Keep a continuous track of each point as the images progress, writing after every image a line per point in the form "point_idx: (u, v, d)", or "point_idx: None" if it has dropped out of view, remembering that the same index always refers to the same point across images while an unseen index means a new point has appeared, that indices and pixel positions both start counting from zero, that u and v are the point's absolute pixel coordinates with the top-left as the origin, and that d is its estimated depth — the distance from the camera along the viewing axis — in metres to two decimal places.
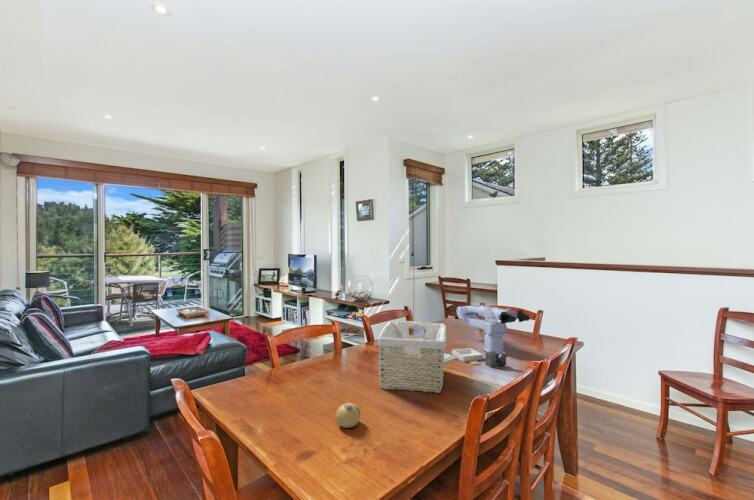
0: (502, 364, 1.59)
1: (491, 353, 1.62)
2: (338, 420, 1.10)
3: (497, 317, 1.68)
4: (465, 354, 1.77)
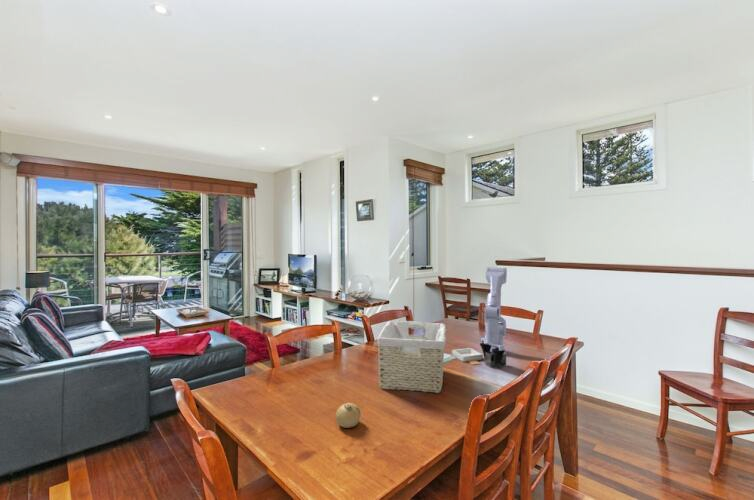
0: (502, 364, 1.59)
1: (491, 353, 1.62)
2: (338, 420, 1.10)
3: None
4: (465, 354, 1.77)
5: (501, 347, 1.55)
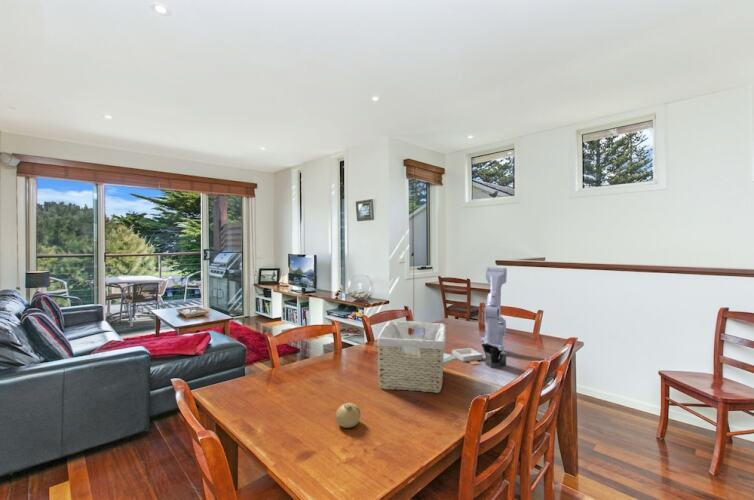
0: (502, 364, 1.59)
1: None
2: (338, 420, 1.10)
3: None
4: (465, 354, 1.77)
5: (501, 347, 1.55)
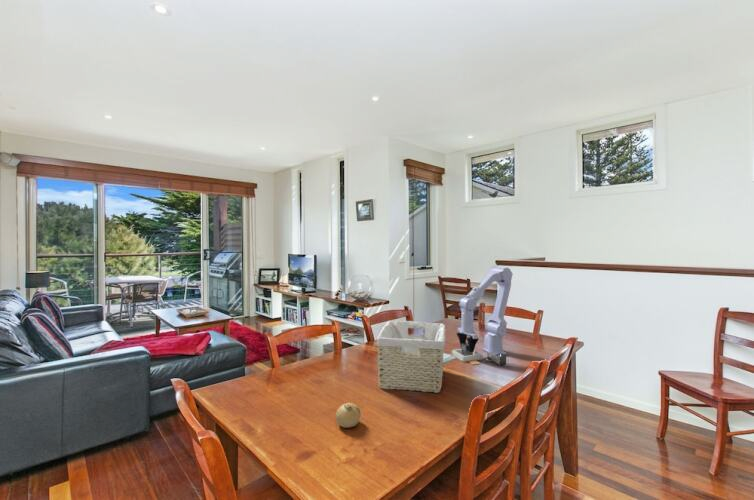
0: (502, 364, 1.59)
1: (466, 344, 1.73)
2: (338, 420, 1.10)
3: None
4: None
5: (475, 336, 1.67)
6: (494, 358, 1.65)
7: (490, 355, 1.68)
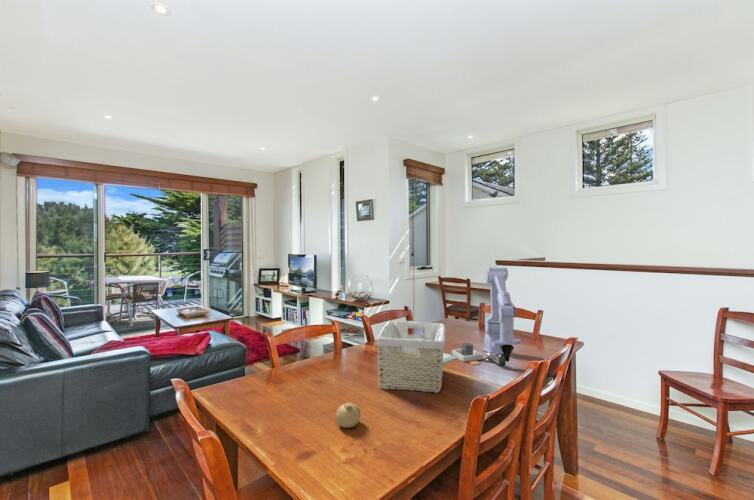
0: (501, 364, 1.59)
1: (466, 344, 1.73)
2: (338, 420, 1.10)
3: (493, 345, 1.58)
4: None
5: None
6: (494, 358, 1.65)
7: (490, 355, 1.68)
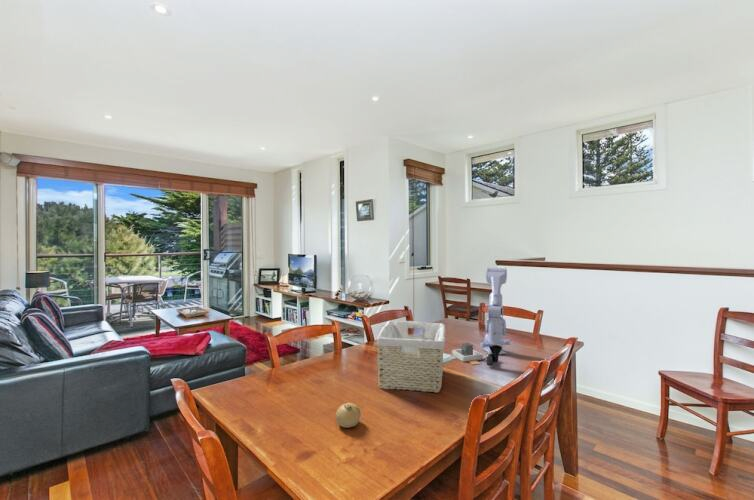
0: (487, 363, 1.60)
1: (466, 344, 1.73)
2: (338, 420, 1.10)
3: (481, 345, 1.58)
4: None
5: None
6: None
7: None
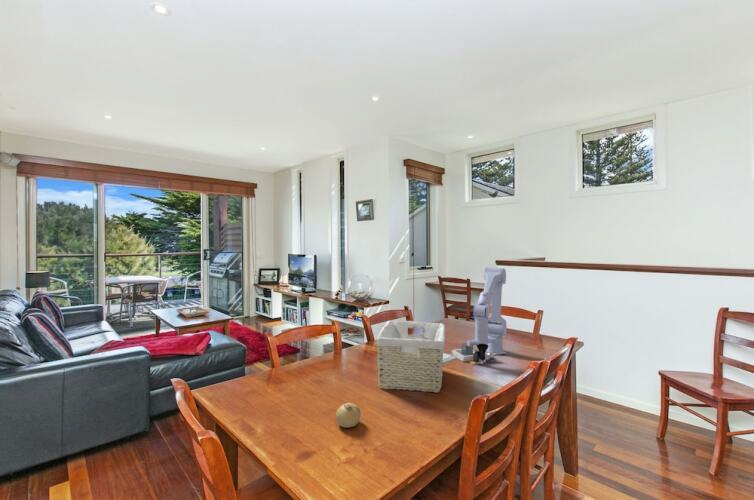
0: (473, 359, 1.66)
1: (466, 344, 1.73)
2: (338, 420, 1.10)
3: (468, 344, 1.61)
4: None
5: None
6: None
7: (487, 354, 1.69)
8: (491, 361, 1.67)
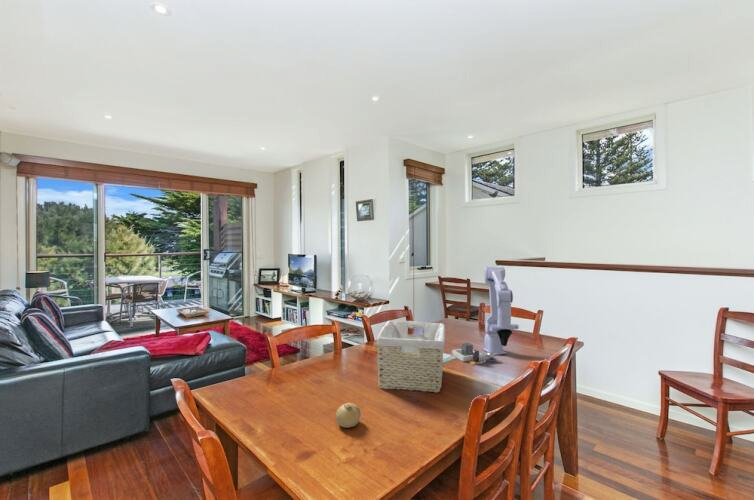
0: None
1: (466, 344, 1.73)
2: (338, 420, 1.10)
3: (490, 329, 1.60)
4: None
5: None
6: None
7: (487, 354, 1.69)
8: (491, 361, 1.67)
